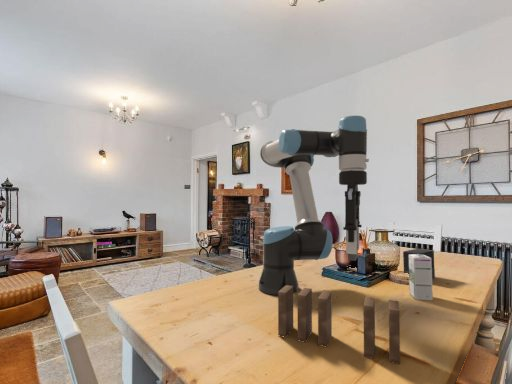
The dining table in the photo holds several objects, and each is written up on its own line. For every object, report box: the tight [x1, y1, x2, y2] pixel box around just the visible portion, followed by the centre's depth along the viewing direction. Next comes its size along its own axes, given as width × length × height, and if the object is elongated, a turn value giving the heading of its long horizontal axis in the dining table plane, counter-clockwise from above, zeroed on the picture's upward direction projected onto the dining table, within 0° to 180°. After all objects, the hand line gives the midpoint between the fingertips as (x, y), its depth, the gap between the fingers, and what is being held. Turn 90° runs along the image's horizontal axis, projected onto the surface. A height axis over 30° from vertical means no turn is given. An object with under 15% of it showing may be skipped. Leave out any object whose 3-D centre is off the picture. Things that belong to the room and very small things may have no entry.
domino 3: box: [317, 290, 333, 348], centre depth 67 cm, size 2×6×11 cm, turn 154°
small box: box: [402, 248, 436, 279], centre depth 119 cm, size 13×7×12 cm, turn 123°
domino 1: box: [277, 285, 294, 338], centre depth 71 cm, size 2×6×11 cm, turn 154°
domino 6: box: [388, 299, 401, 365], centre depth 60 cm, size 2×6×11 cm, turn 154°
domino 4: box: [347, 219, 359, 262], centre depth 79 cm, size 2×6×11 cm, turn 154°
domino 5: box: [363, 296, 376, 359], centre depth 62 cm, size 2×6×11 cm, turn 154°
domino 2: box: [297, 287, 313, 343], centre depth 69 cm, size 2×6×11 cm, turn 154°
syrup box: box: [408, 254, 434, 302], centre depth 96 cm, size 6×6×14 cm
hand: (352, 251), depth 79 cm, fingers closed on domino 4, 6 cm apart
